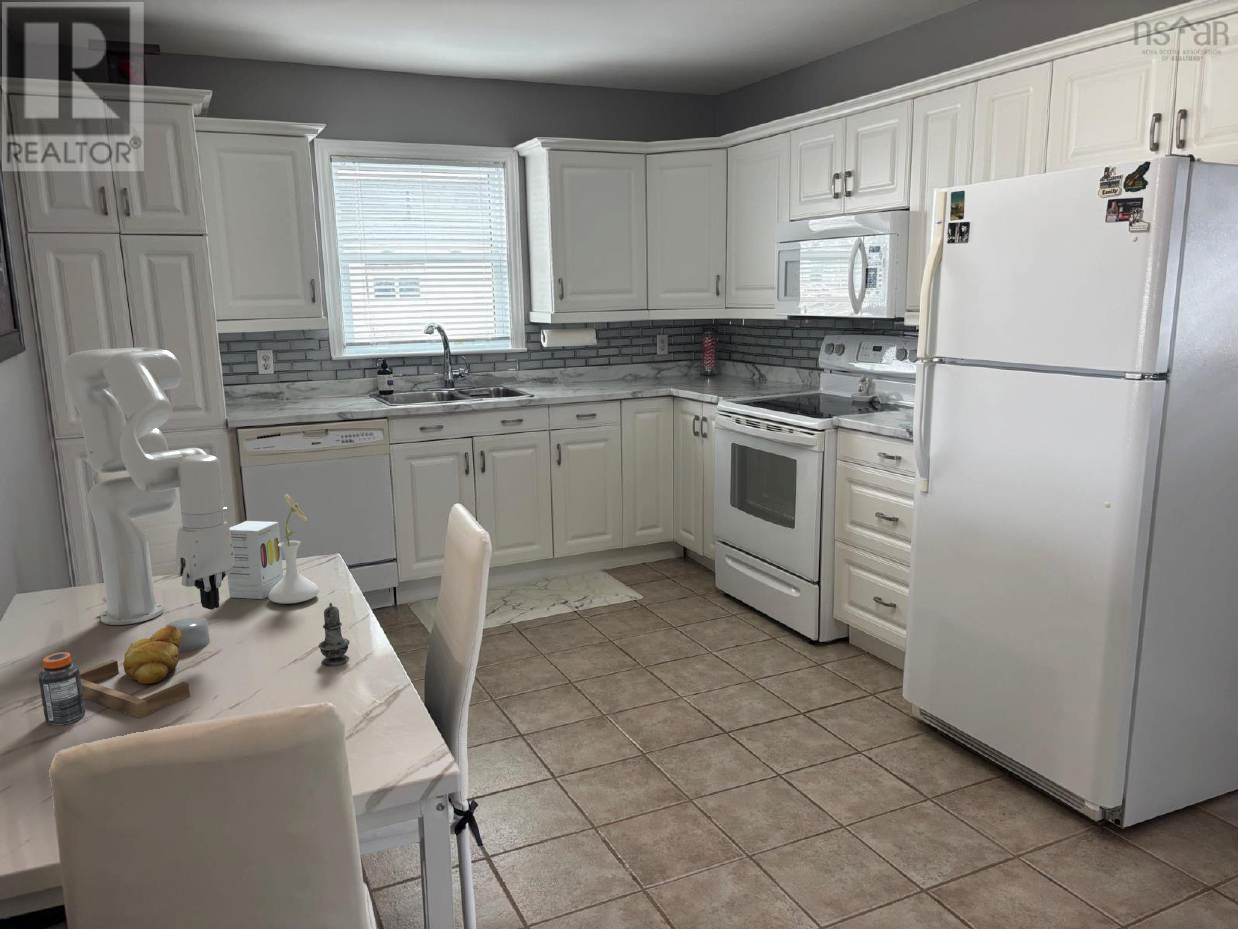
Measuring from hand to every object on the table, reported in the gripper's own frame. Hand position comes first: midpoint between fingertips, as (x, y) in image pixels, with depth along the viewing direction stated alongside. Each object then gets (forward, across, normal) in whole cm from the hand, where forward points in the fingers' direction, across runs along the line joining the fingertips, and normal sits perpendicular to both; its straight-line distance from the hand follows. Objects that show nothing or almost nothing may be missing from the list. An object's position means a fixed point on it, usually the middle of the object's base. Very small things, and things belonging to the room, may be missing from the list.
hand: (210, 607), depth 177 cm
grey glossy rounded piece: (+11, -1, -9) cm, 14 cm away
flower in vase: (+11, -31, -12) cm, 35 cm away
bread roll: (+10, +12, -2) cm, 16 cm away
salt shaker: (+9, -9, +25) cm, 28 cm away
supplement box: (+12, -30, -24) cm, 40 cm away
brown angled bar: (+10, +20, +2) cm, 22 cm away
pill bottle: (+10, +30, +2) cm, 32 cm away
